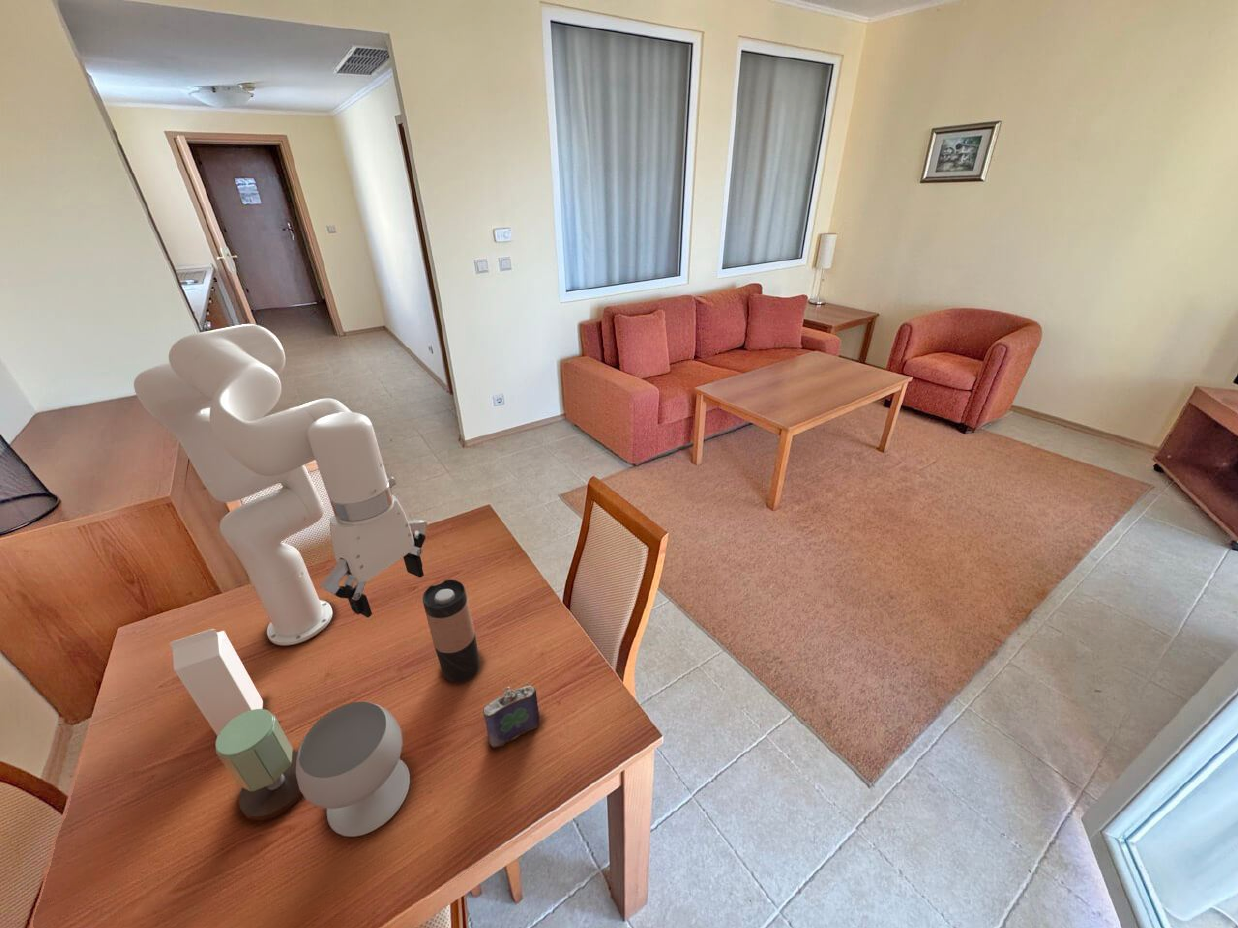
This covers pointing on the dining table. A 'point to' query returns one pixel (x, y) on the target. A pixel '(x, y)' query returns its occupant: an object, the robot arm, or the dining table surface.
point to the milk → (214, 677)
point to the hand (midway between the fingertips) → (391, 592)
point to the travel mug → (452, 630)
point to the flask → (511, 715)
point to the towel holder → (272, 796)
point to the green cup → (254, 749)
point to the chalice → (354, 767)
